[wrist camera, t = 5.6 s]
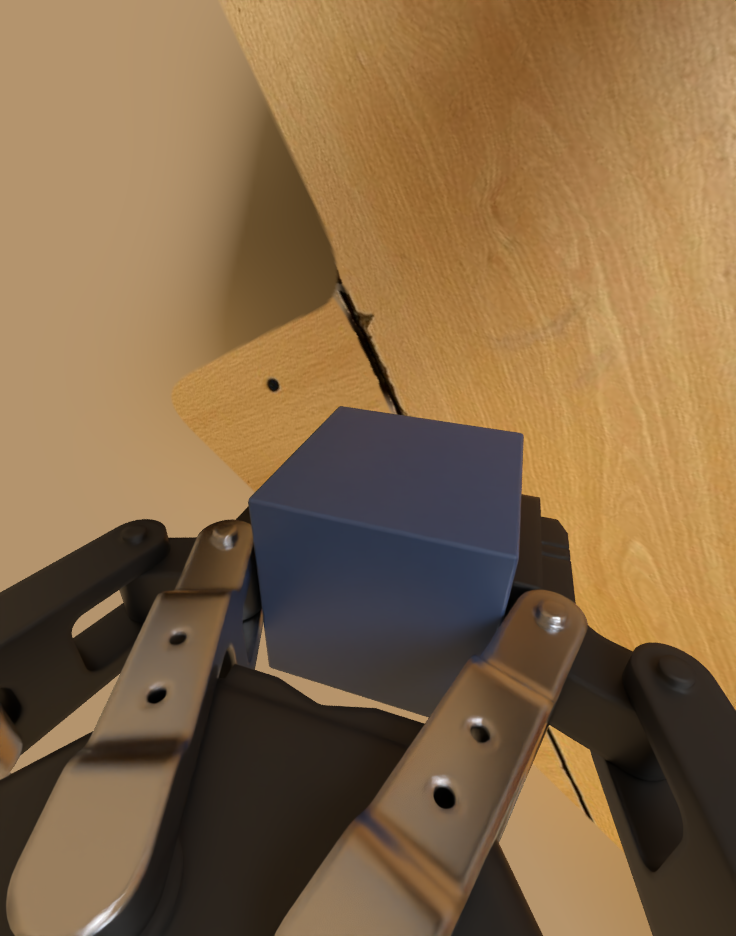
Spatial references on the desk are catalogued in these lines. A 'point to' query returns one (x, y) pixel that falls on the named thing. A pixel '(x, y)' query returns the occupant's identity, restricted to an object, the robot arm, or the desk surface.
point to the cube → (388, 553)
